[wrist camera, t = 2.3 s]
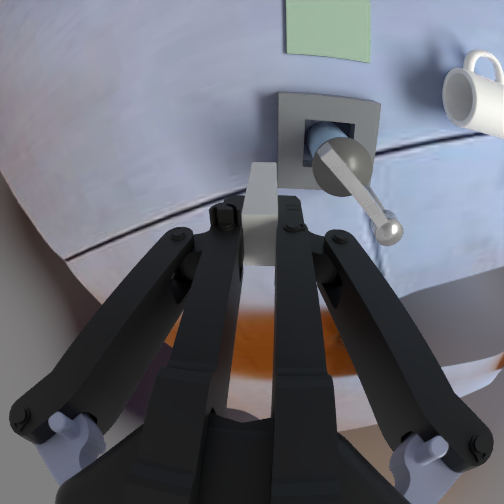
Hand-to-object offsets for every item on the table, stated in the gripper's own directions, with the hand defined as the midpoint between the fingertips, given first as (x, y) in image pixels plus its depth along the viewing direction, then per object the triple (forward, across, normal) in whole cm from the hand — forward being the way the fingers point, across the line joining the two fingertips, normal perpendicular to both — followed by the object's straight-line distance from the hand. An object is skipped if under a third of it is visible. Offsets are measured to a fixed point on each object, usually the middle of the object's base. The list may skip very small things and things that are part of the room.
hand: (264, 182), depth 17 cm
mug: (+18, +28, +10) cm, 35 cm away
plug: (+18, +7, -2) cm, 20 cm away
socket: (+18, +7, -2) cm, 20 cm away
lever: (+6, +9, -3) cm, 11 cm away
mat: (+18, +7, +14) cm, 24 cm away
